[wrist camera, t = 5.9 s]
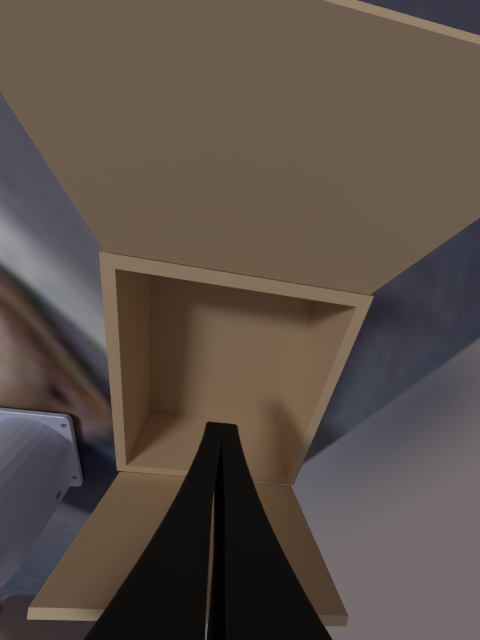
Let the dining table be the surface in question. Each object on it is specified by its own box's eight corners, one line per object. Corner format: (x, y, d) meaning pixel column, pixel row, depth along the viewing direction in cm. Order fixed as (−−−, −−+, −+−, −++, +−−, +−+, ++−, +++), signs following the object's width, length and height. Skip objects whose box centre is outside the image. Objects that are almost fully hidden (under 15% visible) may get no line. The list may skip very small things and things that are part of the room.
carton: (280, 425, 20) (293, 484, 16) (145, 411, 19) (116, 470, 15) (330, 273, 15) (374, 296, 10) (144, 241, 14) (99, 251, 9)
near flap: (654, 93, 4) (640, 82, 4) (-147, -133, 3) (-121, -136, 3) (369, 294, 10) (368, 287, 10) (104, 251, 9) (107, 243, 9)
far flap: (28, 607, 8) (26, 619, 8) (348, 616, 9) (346, 626, 9) (120, 471, 15) (119, 477, 15) (290, 485, 16) (289, 490, 16)
